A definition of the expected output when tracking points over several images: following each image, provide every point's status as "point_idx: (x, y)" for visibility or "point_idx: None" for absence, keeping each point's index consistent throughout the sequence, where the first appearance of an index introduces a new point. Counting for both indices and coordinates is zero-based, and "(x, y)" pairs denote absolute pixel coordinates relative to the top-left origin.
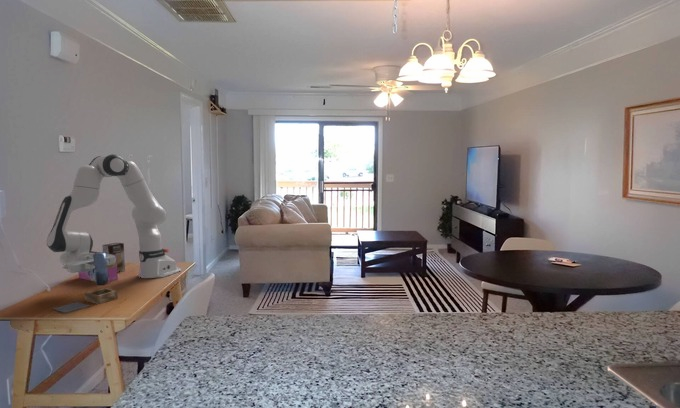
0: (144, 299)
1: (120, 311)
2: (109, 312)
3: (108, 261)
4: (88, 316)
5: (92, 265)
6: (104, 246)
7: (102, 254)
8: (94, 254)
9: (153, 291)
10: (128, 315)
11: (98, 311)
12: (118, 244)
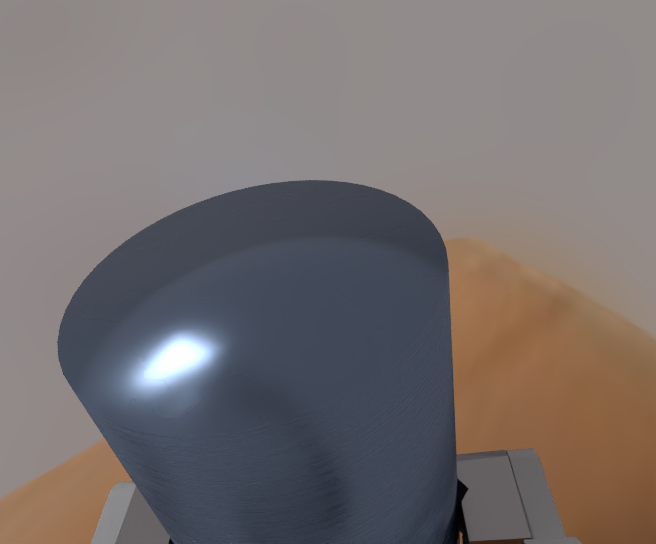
0: None
1: (451, 307)
2: (507, 330)
3: (108, 500)
4: (644, 350)
5: (519, 449)
6: None
7: (278, 193)
8: (425, 253)
9: (35, 521)
10: (450, 243)
11: (561, 392)
12: None
